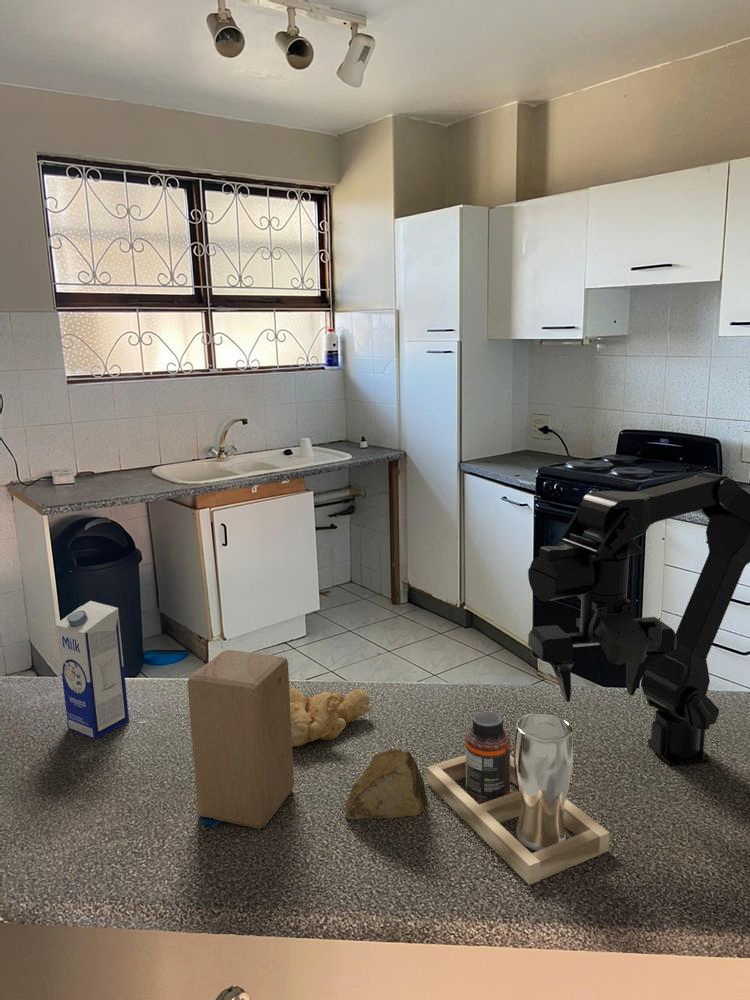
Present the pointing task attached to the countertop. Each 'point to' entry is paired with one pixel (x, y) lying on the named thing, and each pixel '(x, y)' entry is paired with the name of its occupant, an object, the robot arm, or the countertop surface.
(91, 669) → the milk carton
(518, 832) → the beer glass
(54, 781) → the countertop surface
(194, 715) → the wooden block
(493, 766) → the supplement bottle
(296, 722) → the ginger root
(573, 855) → the divided wooden frame
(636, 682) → the robot arm
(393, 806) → the rock
